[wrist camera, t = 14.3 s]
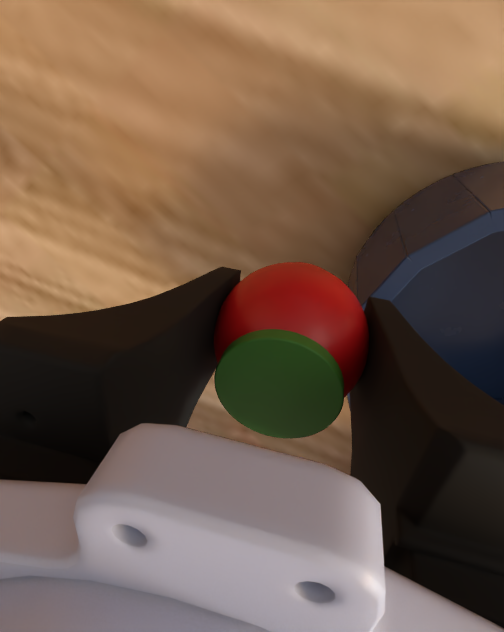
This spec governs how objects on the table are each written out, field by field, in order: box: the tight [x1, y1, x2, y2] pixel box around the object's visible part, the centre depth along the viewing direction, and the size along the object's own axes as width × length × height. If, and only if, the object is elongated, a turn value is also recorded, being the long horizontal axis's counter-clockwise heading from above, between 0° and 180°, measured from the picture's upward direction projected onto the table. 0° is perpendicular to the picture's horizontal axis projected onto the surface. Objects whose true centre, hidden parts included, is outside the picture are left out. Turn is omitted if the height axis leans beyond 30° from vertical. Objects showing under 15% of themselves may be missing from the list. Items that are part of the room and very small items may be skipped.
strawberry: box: [214, 262, 369, 438], centre depth 11 cm, size 4×4×5 cm
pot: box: [347, 162, 504, 411], centre depth 18 cm, size 15×20×6 cm
